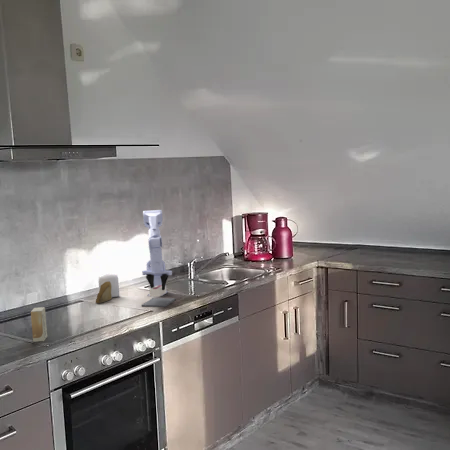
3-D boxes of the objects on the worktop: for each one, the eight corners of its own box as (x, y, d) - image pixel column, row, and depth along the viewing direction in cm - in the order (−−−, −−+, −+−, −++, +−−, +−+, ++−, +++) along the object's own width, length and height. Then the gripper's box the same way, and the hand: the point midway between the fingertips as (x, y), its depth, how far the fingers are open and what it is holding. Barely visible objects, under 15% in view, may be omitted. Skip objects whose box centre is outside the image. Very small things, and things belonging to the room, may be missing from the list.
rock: (98, 300, 278) (117, 294, 284) (91, 285, 281) (109, 279, 287) (94, 310, 286) (112, 303, 292) (87, 295, 289) (105, 289, 295)
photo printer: (100, 299, 291) (99, 275, 290) (98, 298, 294) (97, 274, 293) (120, 296, 295) (118, 273, 294) (118, 295, 299) (116, 272, 298)
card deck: (149, 296, 272) (149, 288, 272) (156, 292, 281) (156, 285, 280) (159, 296, 271) (159, 288, 270) (166, 292, 279) (165, 285, 279)
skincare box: (36, 337, 226) (34, 307, 225) (47, 336, 226) (45, 306, 225) (32, 342, 220) (30, 311, 219) (44, 341, 220) (41, 310, 219)
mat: (152, 299, 285) (152, 298, 285) (175, 300, 282) (175, 298, 282) (141, 306, 271) (141, 304, 271) (165, 306, 268) (165, 305, 268)
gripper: (139, 263, 272) (140, 291, 274) (167, 263, 269) (169, 291, 270) (144, 261, 279) (146, 288, 281) (172, 260, 276) (174, 288, 277)
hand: (158, 289), depth 276 cm, fingers closed on card deck, 5 cm apart
